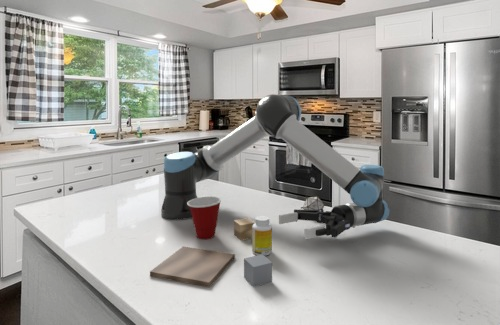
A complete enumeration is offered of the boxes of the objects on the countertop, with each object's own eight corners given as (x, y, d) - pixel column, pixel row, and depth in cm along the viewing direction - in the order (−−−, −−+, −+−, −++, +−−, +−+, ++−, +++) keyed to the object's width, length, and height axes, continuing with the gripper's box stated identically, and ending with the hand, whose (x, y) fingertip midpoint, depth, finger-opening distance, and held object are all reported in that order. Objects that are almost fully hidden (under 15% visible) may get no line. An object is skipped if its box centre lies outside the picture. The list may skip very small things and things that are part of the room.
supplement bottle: (275, 254, 95) (275, 219, 94) (257, 258, 93) (257, 222, 91) (265, 247, 100) (266, 213, 99) (249, 250, 98) (249, 216, 96)
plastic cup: (189, 230, 114) (188, 195, 112) (221, 229, 115) (221, 195, 113) (186, 243, 103) (184, 205, 101) (221, 242, 104) (221, 204, 102)
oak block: (240, 240, 106) (240, 225, 105) (234, 235, 110) (233, 220, 109) (254, 237, 108) (254, 222, 107) (247, 232, 112) (247, 218, 111)
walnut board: (150, 276, 83) (149, 271, 83) (183, 250, 98) (183, 246, 98) (209, 287, 78) (209, 282, 78) (234, 258, 93) (234, 254, 93)
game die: (317, 227, 127) (326, 211, 121) (296, 218, 129) (304, 202, 122) (322, 210, 134) (331, 194, 127) (301, 201, 135) (309, 185, 128)
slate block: (253, 287, 78) (253, 267, 77) (244, 277, 83) (243, 258, 82) (272, 282, 80) (272, 262, 80) (262, 273, 85) (262, 254, 84)
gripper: (376, 240, 99) (317, 254, 89) (322, 216, 121) (270, 225, 112) (377, 215, 97) (318, 227, 88) (323, 195, 120) (270, 203, 110)
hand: (291, 226), depth 100 cm, fingers open, 13 cm apart
